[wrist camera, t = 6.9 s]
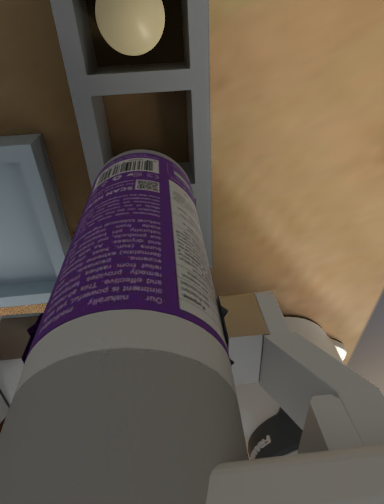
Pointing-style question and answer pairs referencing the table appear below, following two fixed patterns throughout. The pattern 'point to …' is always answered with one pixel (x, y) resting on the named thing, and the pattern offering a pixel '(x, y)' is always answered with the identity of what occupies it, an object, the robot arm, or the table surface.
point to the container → (126, 356)
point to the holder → (139, 80)
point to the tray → (29, 222)
